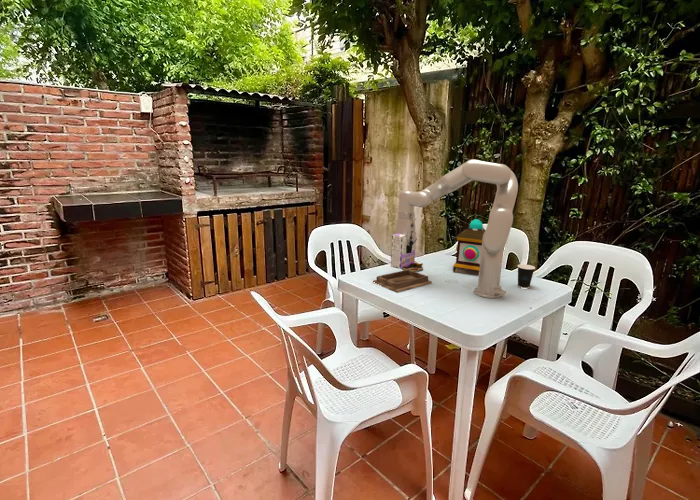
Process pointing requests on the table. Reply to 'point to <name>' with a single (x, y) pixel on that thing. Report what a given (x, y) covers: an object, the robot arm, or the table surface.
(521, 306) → the table surface
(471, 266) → the decorative lantern
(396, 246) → the candy box
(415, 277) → the tray
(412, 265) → the toy sandwich meal
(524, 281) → the dixie cup
